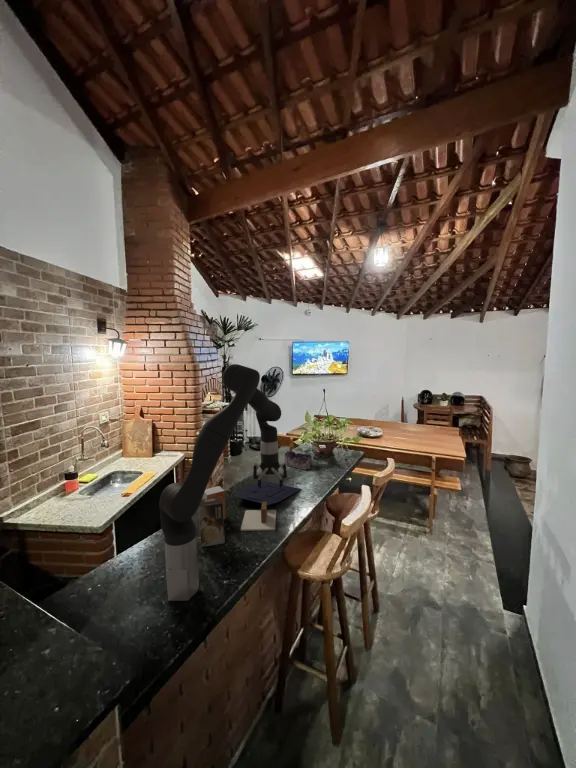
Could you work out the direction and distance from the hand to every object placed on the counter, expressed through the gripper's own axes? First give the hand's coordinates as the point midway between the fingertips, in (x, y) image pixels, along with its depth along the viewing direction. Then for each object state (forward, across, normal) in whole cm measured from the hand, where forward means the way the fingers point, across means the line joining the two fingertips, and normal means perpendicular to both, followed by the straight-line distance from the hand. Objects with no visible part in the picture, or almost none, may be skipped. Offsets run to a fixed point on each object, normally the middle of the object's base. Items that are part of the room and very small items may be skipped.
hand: (270, 487), depth 141 cm
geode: (+15, -14, -65) cm, 68 cm away
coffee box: (+14, +22, +15) cm, 31 cm away
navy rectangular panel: (+15, +3, -23) cm, 28 cm away
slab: (+11, +3, -3) cm, 12 cm away
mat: (+14, +5, +1) cm, 15 cm away
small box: (+15, +25, -2) cm, 29 cm away
